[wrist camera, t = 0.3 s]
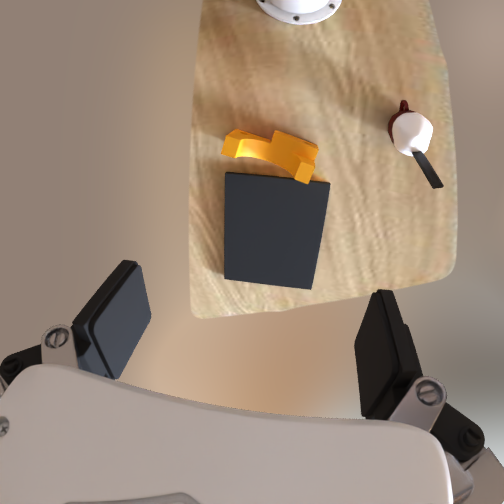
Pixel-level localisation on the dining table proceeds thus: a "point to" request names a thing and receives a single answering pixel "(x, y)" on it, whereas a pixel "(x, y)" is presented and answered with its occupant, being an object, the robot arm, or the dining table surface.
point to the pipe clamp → (275, 151)
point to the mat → (273, 229)
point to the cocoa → (413, 139)
